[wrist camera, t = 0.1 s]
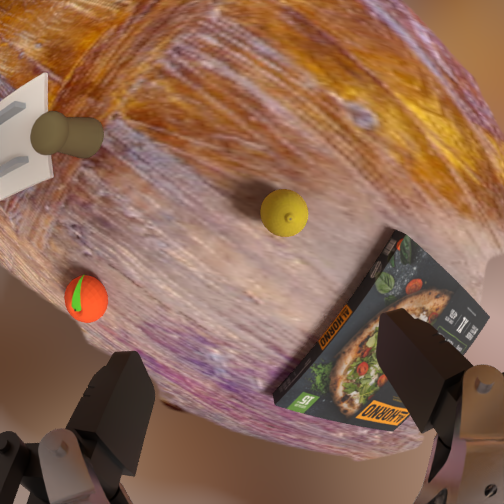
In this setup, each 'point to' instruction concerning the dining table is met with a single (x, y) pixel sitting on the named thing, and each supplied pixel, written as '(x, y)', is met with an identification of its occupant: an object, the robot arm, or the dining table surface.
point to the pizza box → (365, 339)
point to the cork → (66, 135)
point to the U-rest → (22, 138)
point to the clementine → (86, 299)
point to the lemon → (284, 213)
